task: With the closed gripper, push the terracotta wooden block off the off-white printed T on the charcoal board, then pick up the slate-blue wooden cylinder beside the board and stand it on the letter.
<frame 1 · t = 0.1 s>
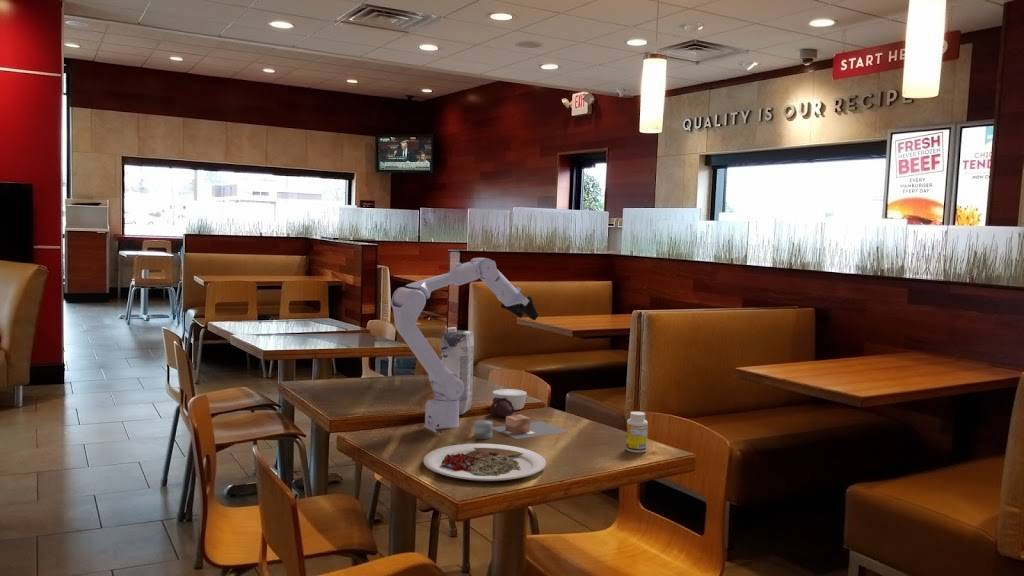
hand: (529, 316, 242), 32 cm above the table, tool tilted 50°, fingers open, 7 cm apart
terracotta block: (517, 431, 224), point 1 cm above the table, touching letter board
supplement bottle: (636, 451, 212), on the table
juice carton: (455, 412, 251), on the table
ramekin: (509, 408, 260), on the table
slate cylinder: (483, 440, 217), on the table
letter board: (529, 433, 227), on the table
plated food: (484, 468, 193), on the table
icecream: (501, 419, 243), on the table
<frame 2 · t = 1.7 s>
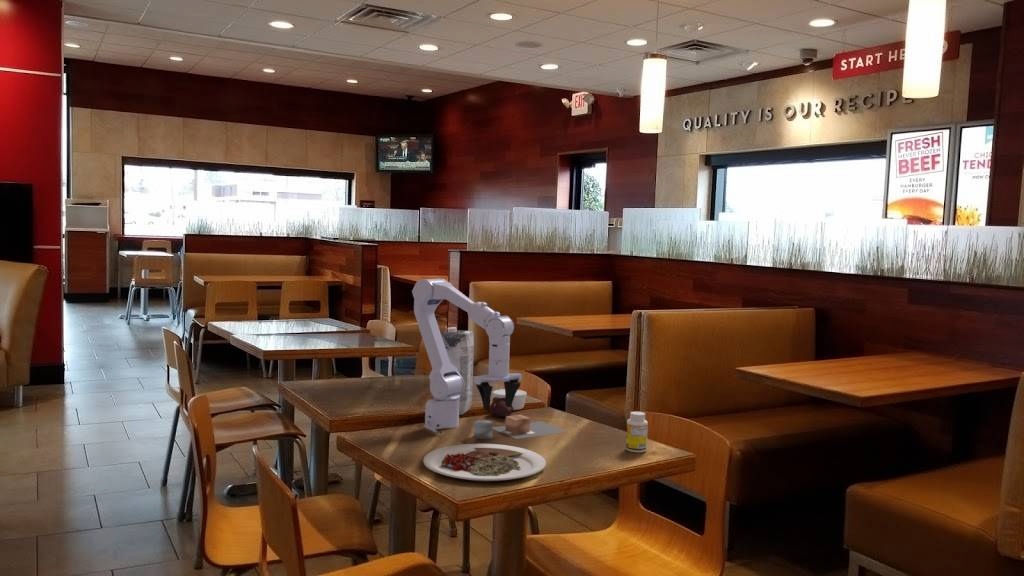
hand: (497, 407, 220), 8 cm above the table, tool pointing down, fingers open, 7 cm apart
nothing on the table moved.
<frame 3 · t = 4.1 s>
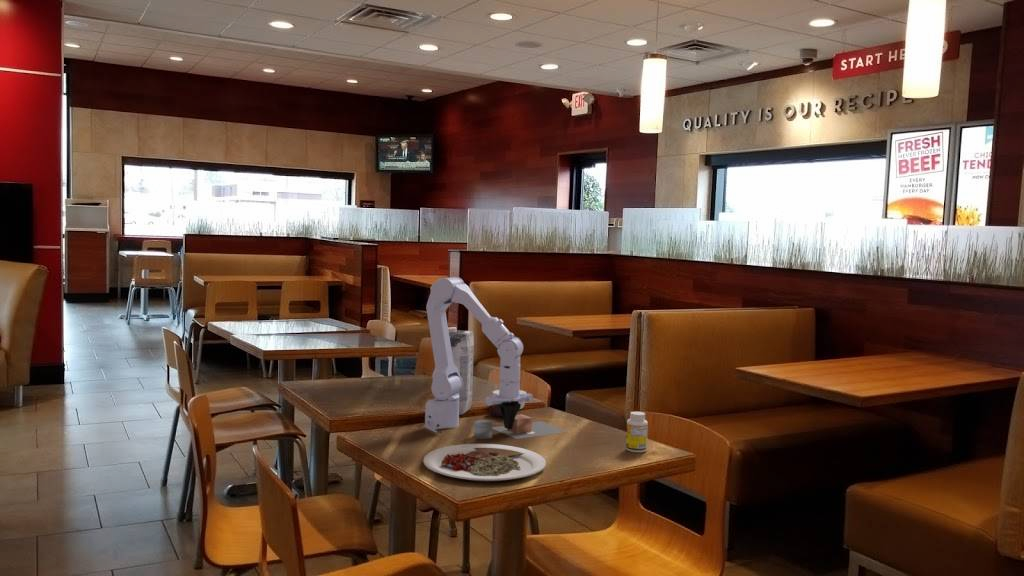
hand: (508, 428, 223), 2 cm above the table, tool pointing down, fingers closed
terracotta block: (519, 430, 225), point 1 cm above the table, touching gripper
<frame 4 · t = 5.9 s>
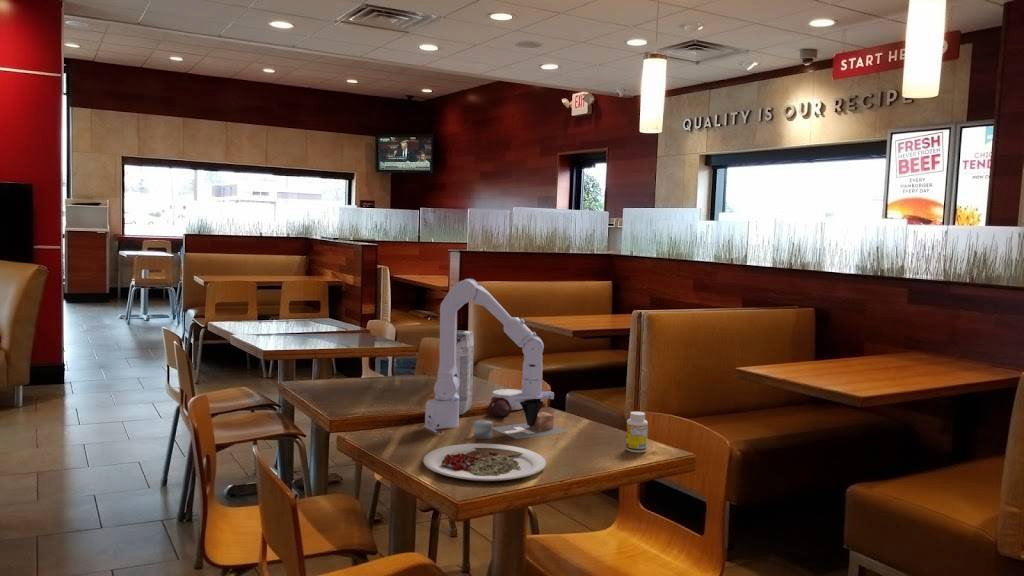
hand: (530, 425, 227), 2 cm above the table, tool pointing down, fingers closed
terracotta block: (541, 428, 229), point 1 cm above the table, touching gripper, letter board
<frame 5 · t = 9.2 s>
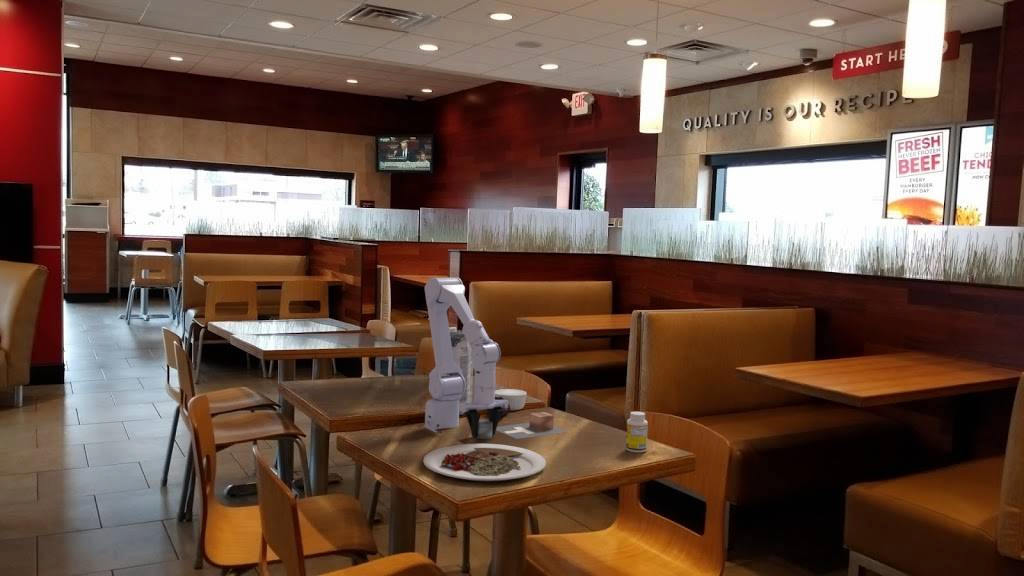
hand: (483, 435, 217), 1 cm above the table, tool pointing down, fingers closed on slate cylinder, 5 cm apart
terracotta block: (541, 427, 229), point 1 cm above the table, touching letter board
slate cylinder: (483, 440, 217), on the table, touching gripper
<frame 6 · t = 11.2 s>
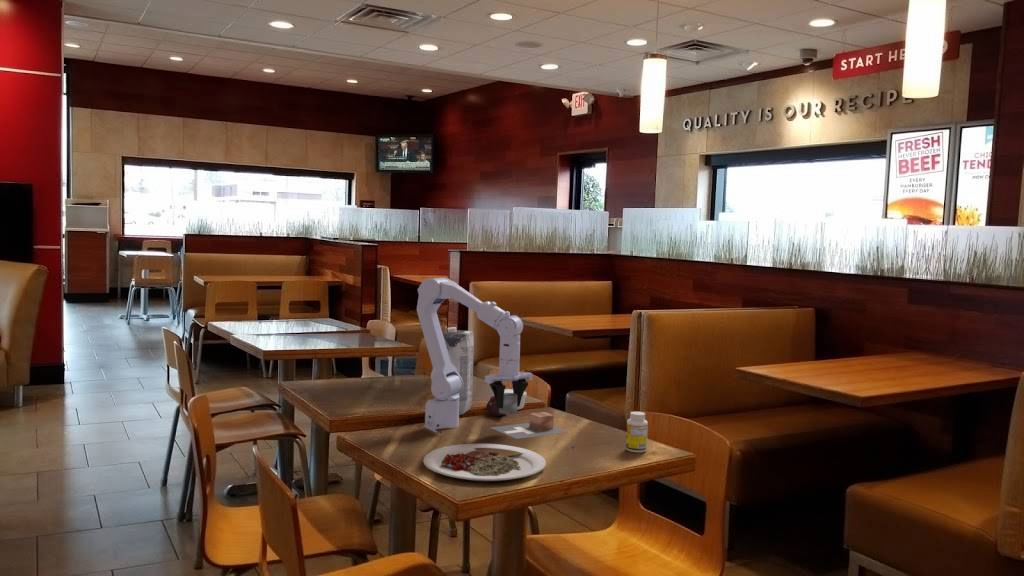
hand: (508, 406, 222), 8 cm above the table, tool pointing down, fingers closed on slate cylinder, 5 cm apart
slate cylinder: (508, 412, 222), point 7 cm above the table, touching gripper
when the fingers open (3 cm above the table, at t = 12.9 s): slate cylinder stays where it is, resting on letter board.
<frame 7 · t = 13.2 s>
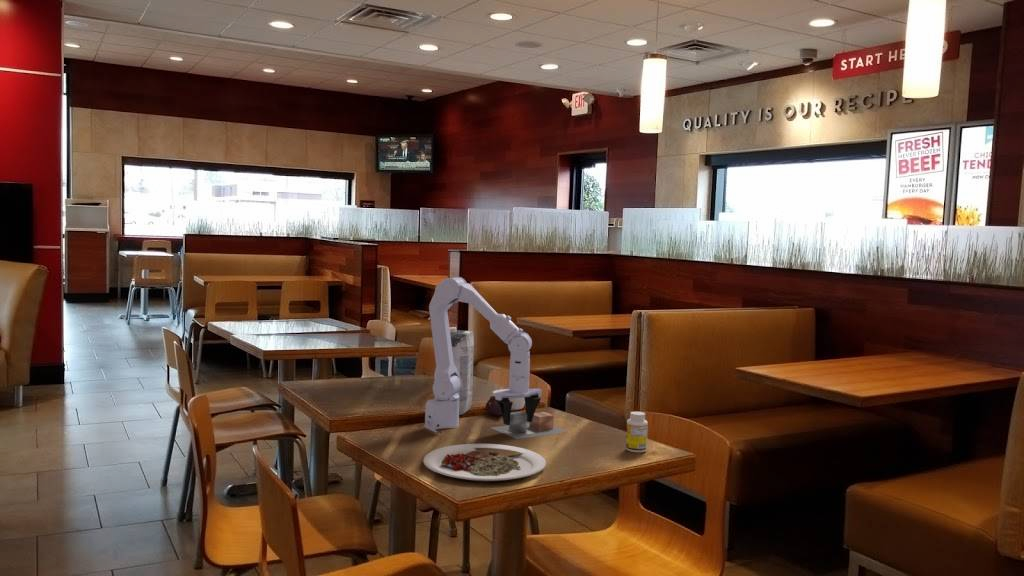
hand: (517, 422, 224), 3 cm above the table, tool pointing down, fingers open, 7 cm apart
slate cylinder: (517, 431, 224), point 1 cm above the table, touching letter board
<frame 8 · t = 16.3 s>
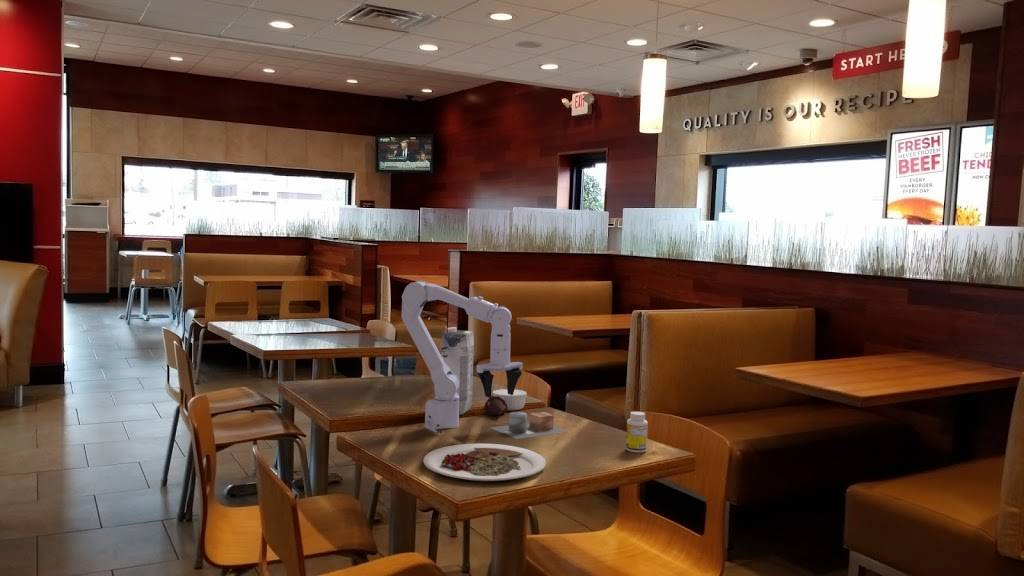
hand: (499, 395, 227), 10 cm above the table, tool pointing down, fingers open, 7 cm apart
at the end: slate cylinder 0.1 cm from the target spot on the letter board, point 1.0 cm above the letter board's base; slate cylinder tilted 0°; terracotta block inside the target area on the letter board (3.4 cm from its centre), point 1.0 cm above the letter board's base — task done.
